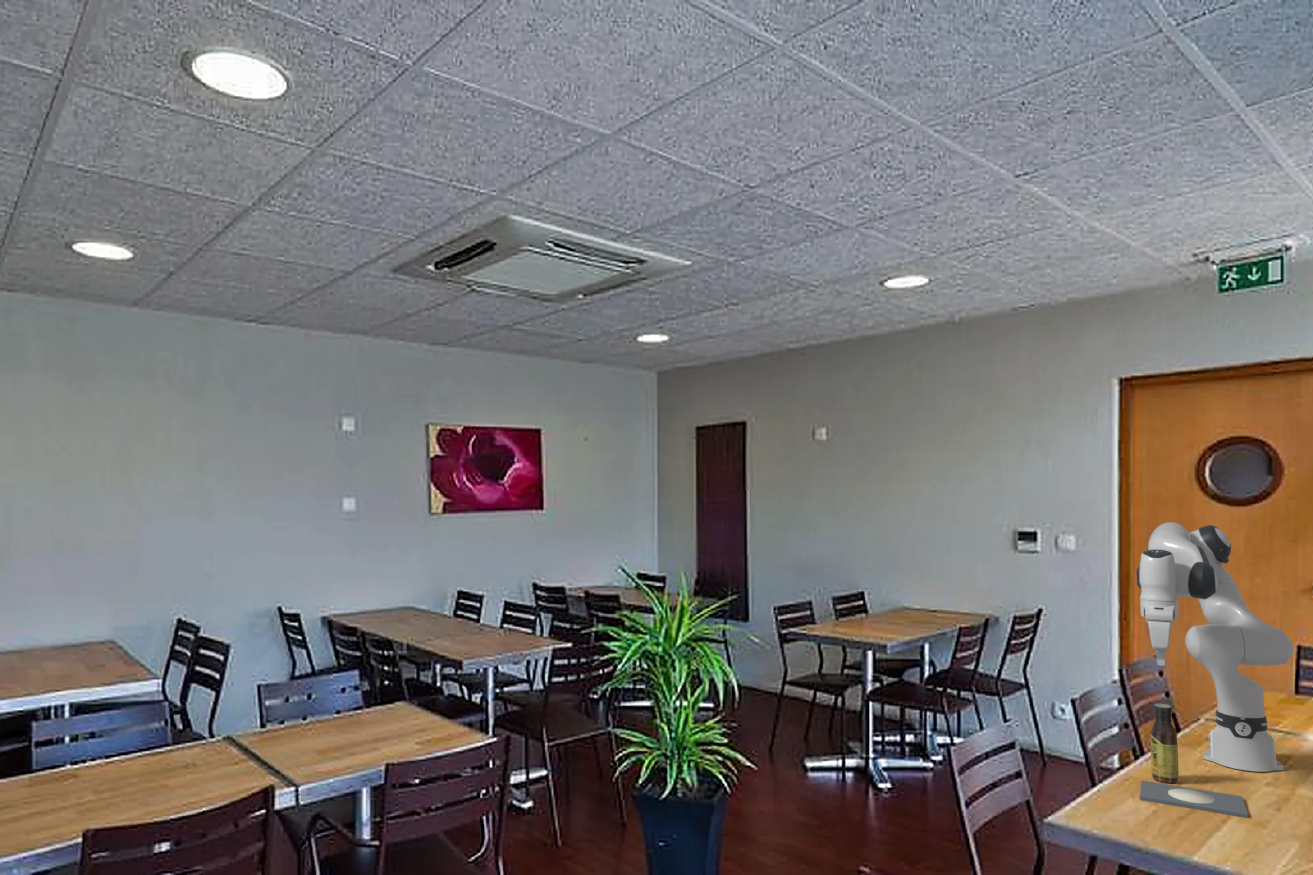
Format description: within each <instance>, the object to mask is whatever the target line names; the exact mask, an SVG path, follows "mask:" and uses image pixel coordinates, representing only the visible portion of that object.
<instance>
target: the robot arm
mask: <svg viewBox="0 0 1313 875" xmlns="http://www.w3.org/2000/svg"><path fill="white" fill-rule="evenodd" d="M1231 553H1232V544H1231V542H1230V539H1229V537H1228V536H1227V534H1226V533H1225V532H1224V531H1223V530H1221V529H1220V528H1218V527H1217V526H1215V525H1213V524H1212V525H1211V524H1209V525H1204V526H1201V527H1199V528H1197V529H1196V530H1193V531H1191V532H1189V531H1188V530H1187V528H1186V527H1184V526H1183V525H1182V524H1180V523H1177V522H1172V521H1171V522H1169V521H1167V522H1164V523H1162V524H1160V525H1158V526H1157V527H1156V528H1155V529H1153V532H1151V534H1150V537H1149V539H1148V544H1147V550H1145V551H1143V552H1142V553H1141V555H1140V562H1139V566H1138V567H1137V568H1136V586H1137V587H1138V588H1139V589H1140V590H1141V592H1140V596H1139V603H1140V604H1139V605H1140V606H1139V607H1140V616H1141V617H1143V618H1144V619H1145V623H1147V624H1148V630H1149V637H1150V642H1151V647H1152V649H1153V650H1155V655H1156V664H1157V666H1160V667H1161V666H1162V667H1165V665H1166V652H1167V651H1168V650H1169V648H1170V638H1171V628H1172V625H1174V621H1175V620H1176V619H1177V620H1178V619H1179V617H1180V616H1179V599H1178V598H1180V597H1183V598H1193V599H1198V601H1199V605H1200V608H1201V611H1202V614H1203V616H1204V618H1205V620H1206V621H1207V622H1209V623H1207V624H1199V625H1192V626H1191V627H1190V628H1189V629H1188V631H1187V633H1186V634H1185V638H1184V641H1185V642H1184V643H1185V647H1186V649H1187V651H1188V653H1189V654H1190V655H1191V656H1192V657H1193V658H1194V659H1195V660H1196V661H1198V662H1199V663H1200V664H1202V666H1204V667H1205V669H1206V670H1207V671H1208V672H1209V674H1210V676H1211V678H1212V680H1213V683H1214V685H1215V692H1216V693H1215V695H1216V703H1217V704H1216V707H1217V709H1216V710H1215V717H1214V718H1215V724H1216V726H1215V727H1213V728H1212V730H1210V732H1208V741H1210V742H1209V748H1208V749H1207V750H1206V751H1205V752H1204V753H1203V756H1202V757H1203V759H1204V760H1207V761H1210V762H1214V763H1216V764H1218V765H1221V766H1224V767H1228V768H1231V769H1236V770H1242V771H1247V772H1257V773H1258V772H1259V773H1261V772H1264V773H1265V772H1268V773H1269V772H1272V771H1285V766H1284V765H1283V764H1282V763H1280V761H1278V760H1277V756H1276V744H1275V743H1276V742H1275V738H1273V737H1272V735H1270V734H1269V732H1268V731H1267V730H1268V719H1267V716H1266V714H1265V695H1264V694H1265V693H1264V690H1263V688H1262V686H1261V685H1260V684H1259V683H1258V682H1256V681H1255V680H1253V679H1251V678H1249V677H1248V676H1246V675H1243V674H1241V673H1240V670H1239V665H1245V666H1246V665H1247V666H1262V667H1263V666H1264V667H1268V666H1269V667H1270V666H1278V665H1279V666H1280V665H1285V664H1287V663H1288V662H1289V661H1290V659H1292V656H1293V651H1294V646H1293V643H1292V640H1291V639H1290V636H1288V634H1287V633H1285V632H1284V631H1283V630H1282V629H1278V628H1277V627H1274V626H1271V625H1270V624H1268V623H1266V622H1265V621H1263V620H1261V619H1260V618H1259V617H1257V616H1256V615H1255V614H1254V613H1253V612H1252V611H1251V610H1250V609H1249V608H1248V605H1247V604H1246V603H1245V601H1244V598H1243V597H1242V594H1241V591H1240V589H1239V587H1238V585H1237V583H1236V581H1235V580H1234V578H1233V577H1232V575H1231V574H1230V573H1229V572H1228V570H1227V569H1225V568H1226V567H1224V566H1223V563H1224V565H1225V564H1228V563H1229V562H1230V560H1229V557H1230V555H1231Z"/></svg>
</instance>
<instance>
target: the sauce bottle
mask: <svg viewBox="0 0 1313 875" xmlns="http://www.w3.org/2000/svg"><path fill="white" fill-rule="evenodd" d="M1153 706H1154V707H1153V709H1154V716H1155V717H1154V722H1153V725H1152V728H1151V731H1150V734H1149V735H1150V738H1149V739H1150V766H1151V775H1152V776H1151V777H1152V778H1153V779H1154V780H1155V781H1157V782H1159V783H1163V784H1170V785H1173V784H1176V783H1178V782H1179V746H1178V745H1179V743H1178V733H1177V730H1176V728H1175V727H1174V726H1173V724H1172V723H1173V721H1172V713H1173V710H1172V709H1173V706H1171V705H1170V704H1166V703H1155V704H1154V705H1153Z"/></svg>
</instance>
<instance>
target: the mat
mask: <svg viewBox="0 0 1313 875" xmlns="http://www.w3.org/2000/svg"><path fill="white" fill-rule="evenodd" d="M1139 792H1140V793H1139V800H1140V801H1146V802H1153V803H1156V804H1157V803H1158V804H1164V805H1170V806H1175V807H1181V808H1186V809H1193V810H1198V811H1206V812H1211V813H1216V814H1223V815H1228V816H1234V817H1240V818H1246V819H1247V818H1249V814H1248V810H1247V807H1246V803H1245V801H1244V797H1243V796H1241V795H1235V794H1230V793H1224V792H1218V791H1212V790H1211V791H1210V790H1203V789H1199V788H1192V787H1186V786H1185V787H1184V786H1179V785H1173V784H1169V783H1162V782H1154V781H1153V782H1152V781H1147V780H1142V779H1141V780H1140V790H1139Z"/></svg>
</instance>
